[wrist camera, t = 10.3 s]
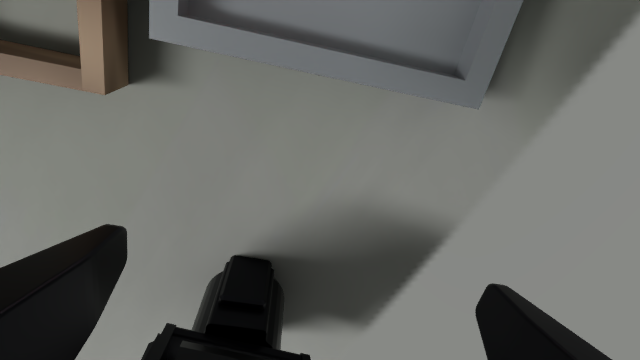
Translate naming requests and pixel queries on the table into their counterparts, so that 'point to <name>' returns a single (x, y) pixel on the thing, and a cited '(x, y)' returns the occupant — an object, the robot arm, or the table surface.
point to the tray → (354, 39)
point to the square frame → (95, 52)
